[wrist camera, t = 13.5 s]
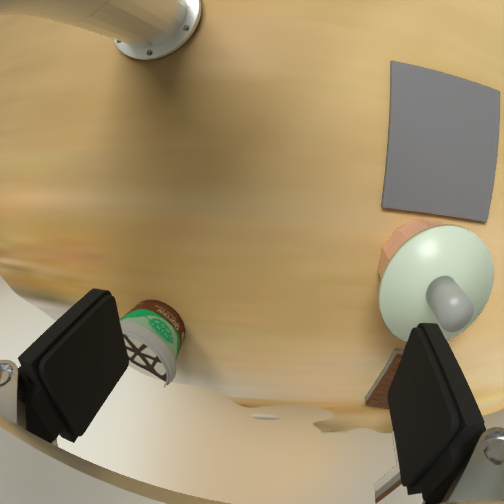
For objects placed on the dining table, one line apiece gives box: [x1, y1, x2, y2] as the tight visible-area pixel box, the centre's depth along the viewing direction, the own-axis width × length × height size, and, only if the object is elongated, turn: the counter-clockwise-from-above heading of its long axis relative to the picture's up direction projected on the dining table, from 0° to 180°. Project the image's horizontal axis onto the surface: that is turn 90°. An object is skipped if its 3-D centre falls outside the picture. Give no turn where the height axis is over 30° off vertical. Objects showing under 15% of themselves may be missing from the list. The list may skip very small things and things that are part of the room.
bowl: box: [378, 219, 444, 278], centre depth 35 cm, size 12×12×7 cm
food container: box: [120, 300, 185, 387], centre depth 43 cm, size 12×6×10 cm, turn 56°
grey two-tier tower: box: [365, 349, 424, 504], centre depth 29 cm, size 11×11×35 cm
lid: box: [378, 224, 494, 342], centre depth 29 cm, size 15×15×6 cm
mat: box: [381, 61, 500, 222], centre depth 31 cm, size 18×16×1 cm
